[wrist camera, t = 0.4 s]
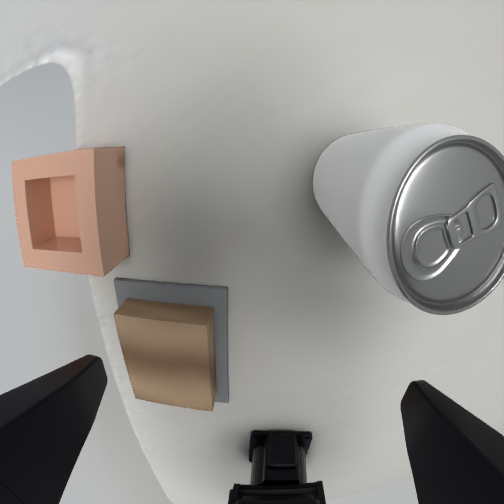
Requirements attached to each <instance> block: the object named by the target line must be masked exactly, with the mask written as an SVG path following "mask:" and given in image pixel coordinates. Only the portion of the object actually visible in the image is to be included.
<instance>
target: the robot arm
mask: <svg viewBox="0 0 504 504" xmlns="http://www.w3.org/2000/svg"><path fill="white" fill-rule="evenodd" d="M106 385H107V375H106V372H105V368H104V365H103V362H102V359H101V358H100V357H98V356H94V355H86V356H84V357H82V358H79V359H78V360H75V361H73V362H71V363H69V364H67V365H65V366H63V367H60V368H58V369H56V370H54V371H52V372H50V373H48V374H45V375H43V376H41V377H39V378H37V379H34V380H32V381H30V382H28V383H26V384H24V385H21V386H19V387H17V388H15V389H13V390H10V391H8V392H6V393H4V394H2V395H0V504H59V502H60V499H61V497H62V494H63V491H64V489H65V487H66V484H67V482H68V480H69V477H70V475H71V472H72V470H73V468H74V465H75V463H76V461H77V458H78V456H79V454H80V451H81V449H82V447H83V445H84V443H85V440H86V438H87V436H88V434H89V431H90V430H91V427H92V425H93V423H94V420H95V417H96V414H97V411H98V408H99V405H100V402H101V400H102V397H103V394H104V391H105V388H106ZM401 413H402V420H403V426H404V433H405V441H406V447H407V452H408V456H409V461H410V465H411V469H412V474H413V478H414V483H415V488H416V492H417V498H418V502H419V504H504V437H503V435H502V434H500V433H499V432H497V431H496V430H495V429H493V428H492V427H490V426H489V425H487V424H486V423H485V422H483V421H482V420H480V419H479V418H477V417H476V416H474V415H473V414H472V413H470V412H469V411H467V410H466V409H464V408H463V407H462V406H460V405H459V404H457V403H456V402H454V401H453V400H452V399H450V398H449V397H447V396H446V395H444V394H443V393H442V392H440V391H439V390H437V389H436V388H434V387H433V386H432V385H430V384H429V383H427V382H426V381H424V380H418V381H412V382H411V383H410V384H409V386H408V388H407V390H406V392H405V394H404V396H403V398H402V400H401ZM311 440H312V433H309V432H302V433H291V432H259V431H253V432H251V435H250V450H249V461H250V462H252V471H251V483H250V485H240V484H234V487H233V489H231V490H230V494H229V501H228V504H326V502H325V495H324V489H323V483H322V481H317V482H313V483H307V475H306V460H305V457H306V454H307V451H308V449H309V446H310V443H311Z"/></svg>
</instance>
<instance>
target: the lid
mask: <svg viewBox="0 0 504 504" xmlns="http://www.w3.org/2000/svg"><path fill="white" fill-rule="evenodd" d="M114 318H115V323H116V327H117V332H118V336H119V340H120V344H121V348H122V352H123V356H124V360H125V364H126V367H127V371H128V375H129V378H130V381H131V385H132V388H133V391H134V394H135V398H136V399H141V400H146V401H151V402H156V403H161V404H166V405H172V406H178V407H184V408H191V409H198V410H206V411H213V407H214V402H215V398H216V393H217V385H216V365H215V342H214V312H213V307H207V306H196V305H185V304H175V303H165V302H155V301H147V300H138V299H130V298H127V299H126V300H125V301H124V303H123V304H122V305H121V306H120V307H119V308H118V310H117V311H116V312H115V313H114Z"/></svg>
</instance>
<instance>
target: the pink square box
mask: <svg viewBox="0 0 504 504" xmlns="http://www.w3.org/2000/svg"><path fill="white" fill-rule="evenodd" d="M12 179H13V192H14V204H15V213H16V221H17V227H18V234H19V240H20V246H21V251H22V257H23V261H24V266H25V267H31V268H39V269H46V270H54V271H61V272H70V273H78V274H87V275H95V276H105V275H106V274H108V273H109V272H110V271H111V270H112V269H113V268H115V267H116V266H117V265H118V264H119V263H121V262H122V261H123V260H124V259H125V258H127V257H128V256H129V255H130V254H129V244H128V233H127V220H126V203H125V178H124V147H101V148H89V149H81V150H74V151H67V152H61V153H55V154H49V155H43V156H38V157H32V158H28V159H22V160H17V161H13V162H12Z"/></svg>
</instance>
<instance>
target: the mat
mask: <svg viewBox="0 0 504 504" xmlns="http://www.w3.org/2000/svg"><path fill="white" fill-rule="evenodd" d="M114 284H115V290H116V296H117V301H118V307H120V306H121V305H122V304H123V303H124V301H125V300H126V299H127V298H130V299H138V300H147V301H155V302H165V303H175V304H185V305H196V306H207V307H213V312H214V342H215V365H216V385H217V393H216V398H215V402H225V403H228V401H229V392H228V287H217V286H203V285H190V284H178V283H166V282H154V281H144V280H133V279H123V278H115V279H114Z"/></svg>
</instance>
